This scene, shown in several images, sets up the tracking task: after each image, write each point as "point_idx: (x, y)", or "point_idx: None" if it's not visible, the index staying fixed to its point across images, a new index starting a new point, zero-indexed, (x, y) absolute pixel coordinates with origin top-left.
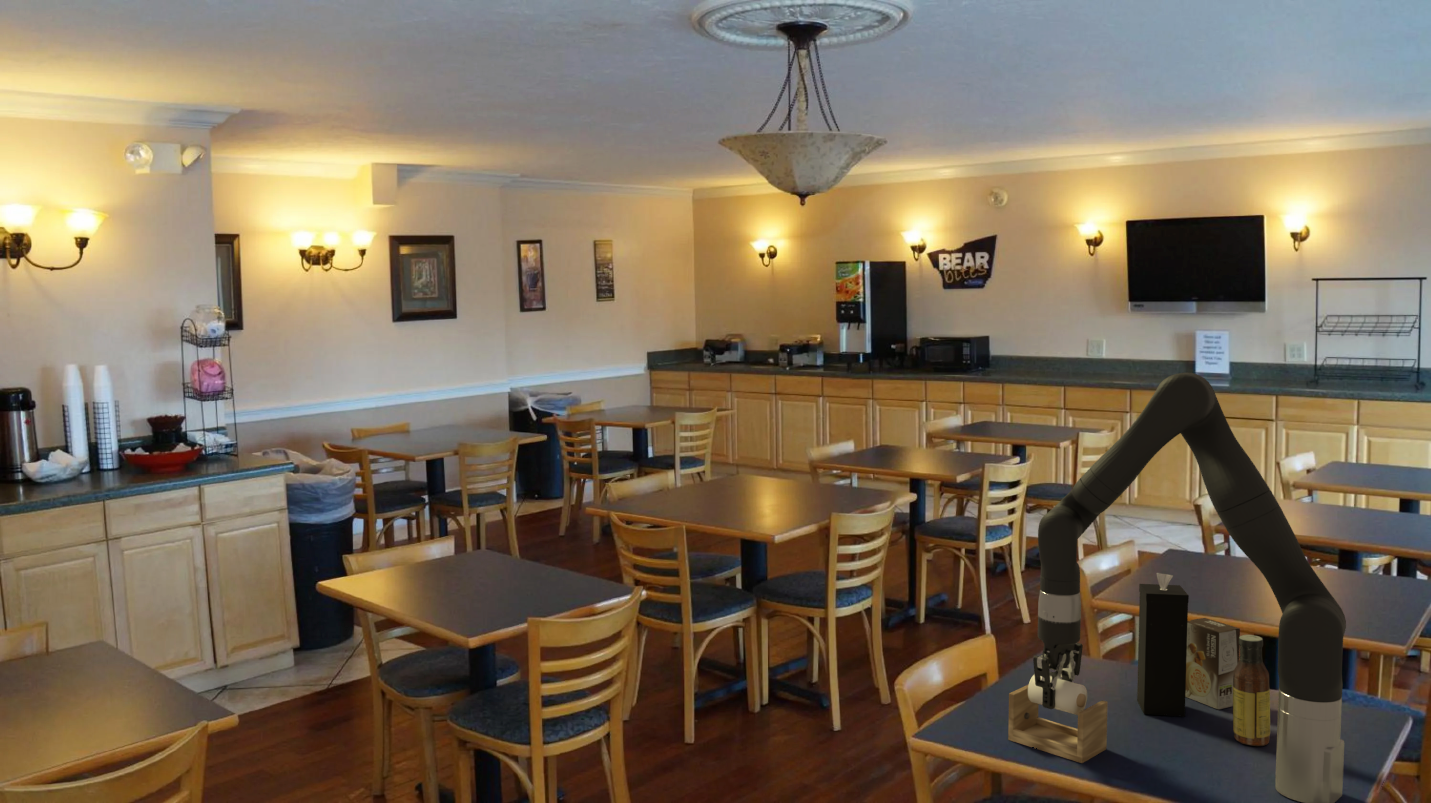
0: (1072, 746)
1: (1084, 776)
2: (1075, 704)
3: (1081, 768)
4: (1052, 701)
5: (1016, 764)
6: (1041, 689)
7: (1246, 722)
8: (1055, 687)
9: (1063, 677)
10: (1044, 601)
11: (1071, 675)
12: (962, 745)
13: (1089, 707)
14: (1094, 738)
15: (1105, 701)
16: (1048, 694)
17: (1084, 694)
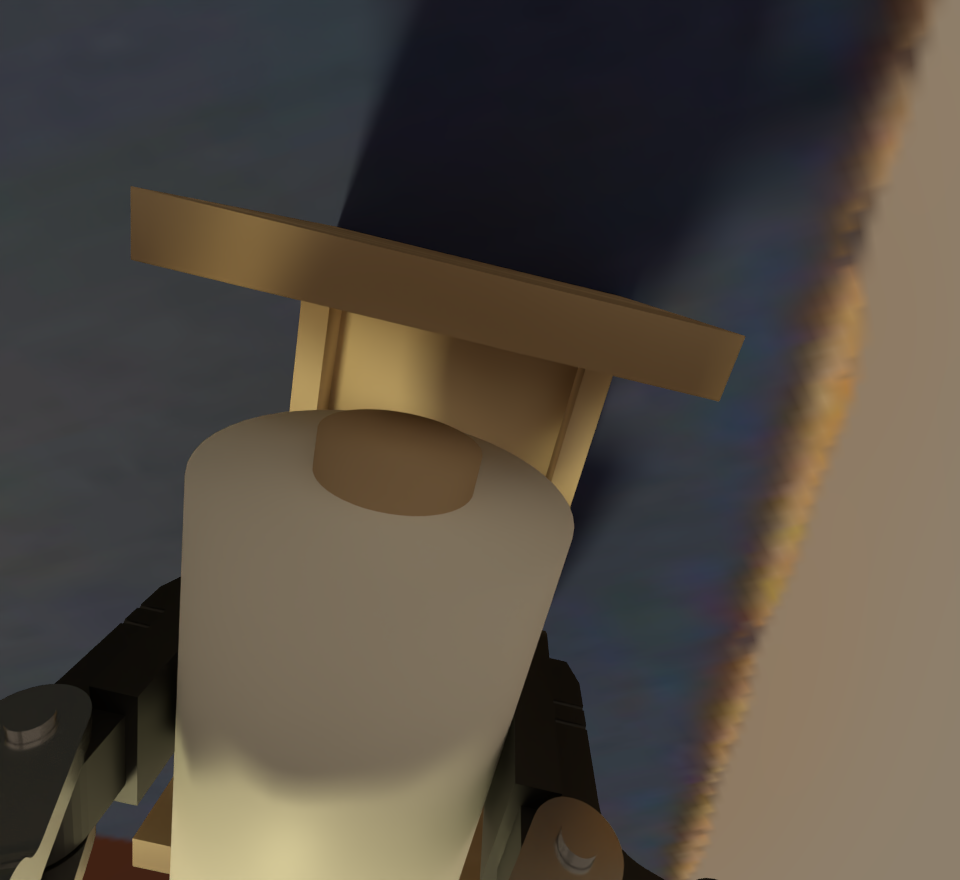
0: (581, 377)
1: (808, 231)
2: (494, 484)
3: (695, 279)
4: (547, 683)
5: (781, 571)
6: (466, 852)
7: None
8: (459, 796)
9: (98, 805)
10: None
11: (46, 778)
12: (664, 787)
13: (464, 331)
14: (477, 263)
15: (143, 212)
16: (589, 781)
17: (339, 452)
